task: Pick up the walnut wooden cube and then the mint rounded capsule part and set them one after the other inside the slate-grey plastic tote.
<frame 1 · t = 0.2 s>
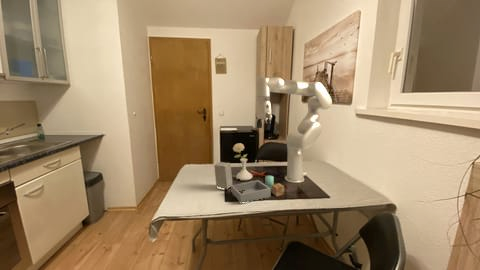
hand: (263, 128, 125), 36 cm above the table, tool pointing down, fingers open, 9 cm apart
mint rounded capsule part: (269, 187, 129), on the table
skincare box: (224, 188, 130), on the table
flower in vase: (243, 179, 144), on the table
walnut cube: (277, 193, 121), on the table
tote: (250, 195, 119), on the table
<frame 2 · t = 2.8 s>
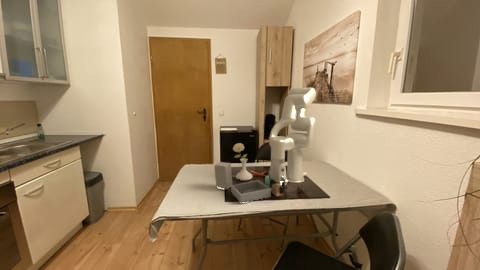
hand: (277, 190, 119), 2 cm above the table, tool pointing down, fingers open, 9 cm apart
mint rounded capsule part: (269, 188, 129), on the table, touching gripper
everything else where it was.
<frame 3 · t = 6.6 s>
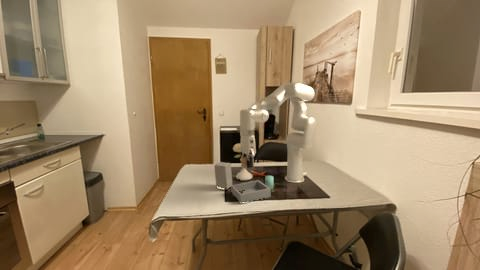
hand: (247, 165, 115), 18 cm above the table, tool pointing down, fingers closed on walnut cube, 5 cm apart
mint rounded capsule part: (269, 187, 129), on the table
walnut cube: (247, 166, 115), point 17 cm above the table, touching gripper
everything else where it was.
when the fingers open (4 cm above the table, at t = 9.8 s): walnut cube drops 2 cm, resting on tote.
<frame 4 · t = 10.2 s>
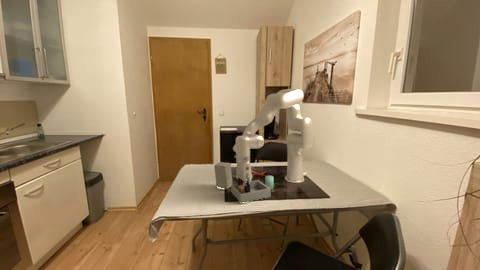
hand: (243, 189, 117), 5 cm above the table, tool pointing down, fingers open, 8 cm apart
walnut cube: (244, 195, 117), point 1 cm above the table, touching tote
everything else where it was.
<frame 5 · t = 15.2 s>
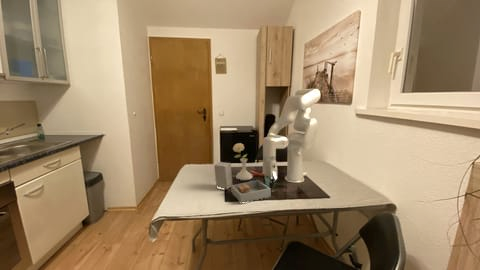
hand: (269, 186, 128), 1 cm above the table, tool pointing down, fingers closed on mint rounded capsule part, 4 cm apart
mint rounded capsule part: (269, 187, 129), on the table, touching gripper
everything else where it was.
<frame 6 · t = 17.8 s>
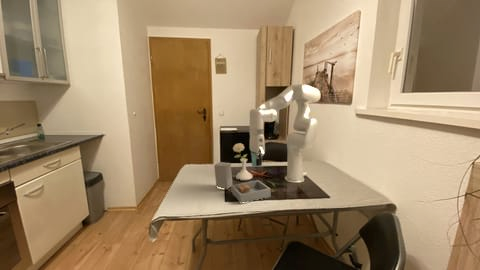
hand: (256, 163, 118), 18 cm above the table, tool pointing down, fingers closed on mint rounded capsule part, 4 cm apart
mint rounded capsule part: (256, 165, 118), point 17 cm above the table, touching gripper
everything else where it was.
when the fingers open (3 cm above the table, at t = 20.9 s): mint rounded capsule part drops 1 cm, resting on tote.
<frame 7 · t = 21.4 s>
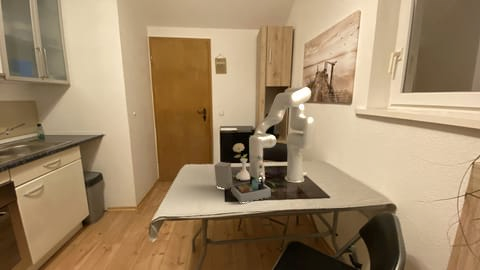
hand: (256, 186, 120), 4 cm above the table, tool pointing down, fingers open, 9 cm apart
mint rounded capsule part: (256, 192, 120), point 1 cm above the table, touching tote
everything else where it was.
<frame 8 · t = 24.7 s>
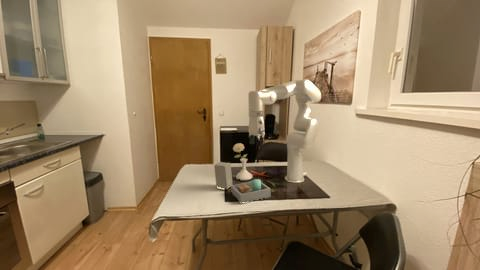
hand: (256, 145, 116), 28 cm above the table, tool pointing down, fingers open, 9 cm apart
nothing on the table moved.
at the end: walnut cube inside the target area on the tote (3.9 cm from its centre), point 1.0 cm above the tote's base; mint rounded capsule part inside the target area on the tote (4.0 cm from its centre), point 1.0 cm above the tote's base; mint rounded capsule part tilted 1° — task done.
